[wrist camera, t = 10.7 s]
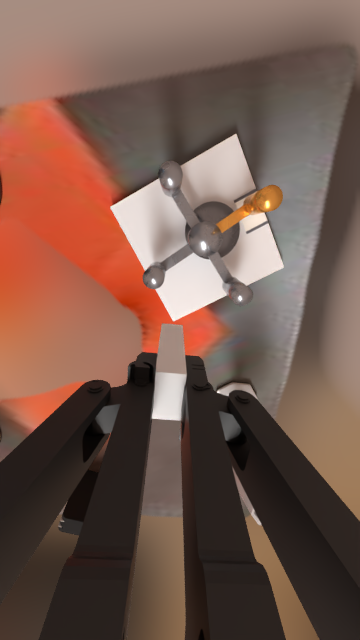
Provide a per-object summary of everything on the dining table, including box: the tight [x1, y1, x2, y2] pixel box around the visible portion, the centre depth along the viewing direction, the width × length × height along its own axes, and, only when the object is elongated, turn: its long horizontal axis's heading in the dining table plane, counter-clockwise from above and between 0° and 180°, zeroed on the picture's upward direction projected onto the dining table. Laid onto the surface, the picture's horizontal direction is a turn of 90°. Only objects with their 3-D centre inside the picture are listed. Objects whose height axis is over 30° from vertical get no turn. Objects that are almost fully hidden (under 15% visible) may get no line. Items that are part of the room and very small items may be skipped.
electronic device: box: [58, 470, 99, 535], centre depth 51 cm, size 4×10×10 cm, turn 68°
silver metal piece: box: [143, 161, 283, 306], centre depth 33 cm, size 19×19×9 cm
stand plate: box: [110, 134, 284, 321], centre depth 38 cm, size 20×20×2 cm
